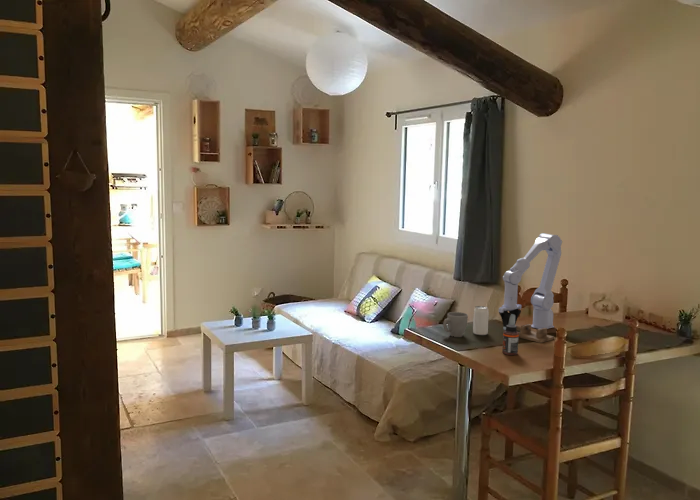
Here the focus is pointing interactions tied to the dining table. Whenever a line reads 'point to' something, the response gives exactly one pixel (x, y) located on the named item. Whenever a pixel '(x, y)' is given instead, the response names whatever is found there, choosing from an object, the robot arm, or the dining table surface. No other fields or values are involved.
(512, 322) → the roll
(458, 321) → the mug
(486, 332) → the can
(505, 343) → the supplement bottle
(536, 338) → the holder
